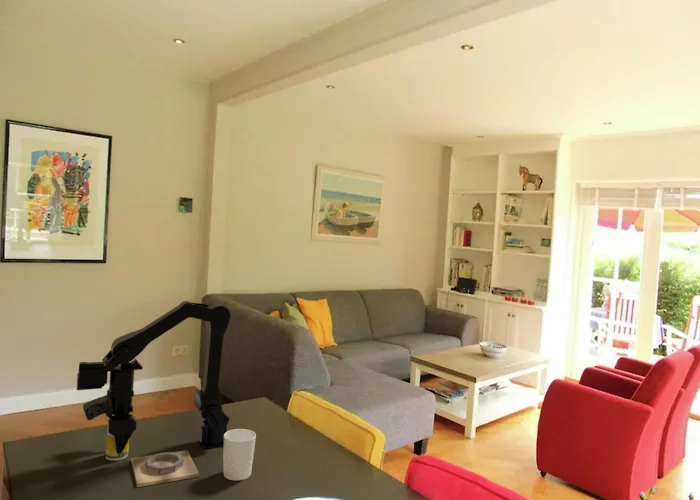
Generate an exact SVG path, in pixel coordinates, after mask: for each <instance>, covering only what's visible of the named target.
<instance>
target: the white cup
mask: <svg viewBox="0 0 700 500" xmlns="http://www.w3.org/2000/svg"><path fill="white" fill-rule="evenodd" d="M256 438H257V434H256V432H255V431H253V430H250V429H246V428H235V429H234V428H233V429H229V430H227V431H226V433H225V434H224V446H222V447H223V452H222V455H223V457H222V459H223V461H222V463H223V477H224V478H226V479H227V480H230V481H243V480H246V479H248V478H249V477H251V475H252V470H253V469H252V467H253V463H254V455H255V447H256Z"/></svg>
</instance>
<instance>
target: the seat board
mask: <svg viewBox="0 0 700 500" xmlns="http://www.w3.org/2000/svg"><path fill="white" fill-rule="evenodd" d="M130 462H131V468H132V470H133V475H134V480H135V484H136V487H137V488H140V487H147V486H154V485H160V484H165V483H170V482H176V481H181V480H188V479H193V478H199V477H200V473H199V470H198V469H197V467H196V465H195V463H194V461H193V459H192V456H191V454H190V453H189V450H188V449H187V450H180V451H166V452H165V451H164V452H157V453H154V454H151V455H150V454H149V455H145V456H137V457H131V458H130Z"/></svg>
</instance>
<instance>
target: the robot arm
mask: <svg viewBox="0 0 700 500" xmlns="http://www.w3.org/2000/svg"><path fill="white" fill-rule="evenodd" d="M189 318H193V319H197V320H200V321H201V320H202V321H204V324H205V328H206V329H205V330H206V335H207V337H206V338H207V339H206V350H205V360H204V372H203V379H202V380H203V381H202V385H201V387H200V389H195V393H194V394H195V399H194V401H193V405H194V406H195V408H196V410H197V412H198V413H199V414H200V416H201V417H202V418H203V419H204V420H202V425H201V426H199V427H200V428H199V438H198V439H199V442H200V444H201V445H202V446H203V448H204V449H212V448H219V447H224V434H225V433H226V432H227V431H228V430H227V428H228V424H229V421H230V417H229V416H228V415H227V414H226V412H225V411H224V410H223V407H222V406H223V404H222V398H221V392H220V387H219V385H220V375H221V364H222V354H223V342H224V337H225V334H226V332H227V330H228V327H229V324H230V320H231V311H230V309H228V308H227V307H226V306H224V305H222V304H221V303H218V302H211V303H210V304H205V303H202V302H201V303H199V302H191V301H189V300H184V301H182V302H180V303H179V305H177V306H175V307H174V308H171V310H169V311H168V312H166V313H164V314H162V315H161V316H160V317H158V318H157V319H154V320H153V321H152V322H150V323H149V324H146V325H145V326H144V327H141V328H140V329H137V330H134V331H131V332H128V333H126V334H123V335H121V336H119V337H117V338H115V339H114V340H113V341H112V343H111V346H110V350H109V351H108V352H107V354H105V355H104V357H103V358H102V360H101V361H93V362H91V361H89V362H88V361H80V362H79V364H78V372H77V374H76V391H85V390H98V389H99V390H100V389H103V387H105V385H107V384H108V372H109V384H108V385H109V387H108V389H107V390H106V394H105V395H103V396H99V397H97V398H94V399H92V400H89V401H87V402H85V403H84V404H83V405H82V409H83V412H84V414H85V415H84V416H85V418H86V420H87V421H91V420H93V419H95V418H96V417H99V416H102V415H104V414H105V416H106V417H107V418H108V419H107V430H108V433H109V434H112V435H113V436H114V438H115V445H116V451H117V454H121V453H122V451H123V450H124V448H125V446H126V444H127V442H128V440H129V441H130V438H131V436H132V435H133V433H134V432H135V431H136V430H137V419H136V417H135V416H134V415H133V414H132V413H133V412H134V407H133V399H134V396H135V391H134V383H135V371H141V370H143V369H144V368H143V365H142V364H141V363H140V362H139V360H138V359H137V356H139V355H140V354H141V353H142V352H143V351H144V350H145V349H146V348H147V346H148V345H149V344H150V343H151V342H153V341H155V340H156V339H158V338H159V337H161V336H162V335H164V334H166V333H168V331H170V330H172V329H173V328H175V327H176V326H178V325H179V324H180V323H182V322H184V321H186V320H187V319H189Z"/></svg>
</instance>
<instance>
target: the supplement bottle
mask: <svg viewBox="0 0 700 500" xmlns="http://www.w3.org/2000/svg"><path fill="white" fill-rule="evenodd" d="M129 446H130V439H129V440H128V442H127V444H126V446H125V448H124V450H123V451H122V453H121V454H117V451H116V445H115V438H114V436H113V435H112V434H109V433H108V429H107V431H106V442H105V453H104V454H105V459H106V460H108V461H113V462H114V461H116V462H117V461H122V460H124V459H126V458H127V457H128V455H129Z"/></svg>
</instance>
